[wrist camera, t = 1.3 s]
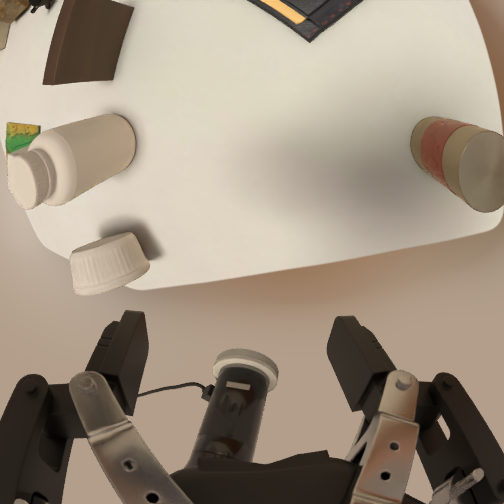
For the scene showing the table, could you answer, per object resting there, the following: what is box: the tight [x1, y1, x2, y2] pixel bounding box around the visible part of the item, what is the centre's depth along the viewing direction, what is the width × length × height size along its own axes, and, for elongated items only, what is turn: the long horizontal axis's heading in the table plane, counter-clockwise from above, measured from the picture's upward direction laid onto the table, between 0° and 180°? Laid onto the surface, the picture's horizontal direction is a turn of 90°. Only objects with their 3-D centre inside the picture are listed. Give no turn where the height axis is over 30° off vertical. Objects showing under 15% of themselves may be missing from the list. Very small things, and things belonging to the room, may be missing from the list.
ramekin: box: [70, 232, 150, 296], centre depth 33 cm, size 11×11×5 cm
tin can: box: [411, 117, 504, 213], centre depth 19 cm, size 6×6×11 cm
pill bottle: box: [8, 114, 135, 210], centre depth 24 cm, size 8×8×15 cm
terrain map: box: [6, 123, 40, 176], centre depth 33 cm, size 12×12×1 cm
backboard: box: [43, 0, 134, 85], centre depth 19 cm, size 2×10×10 cm, turn 162°
